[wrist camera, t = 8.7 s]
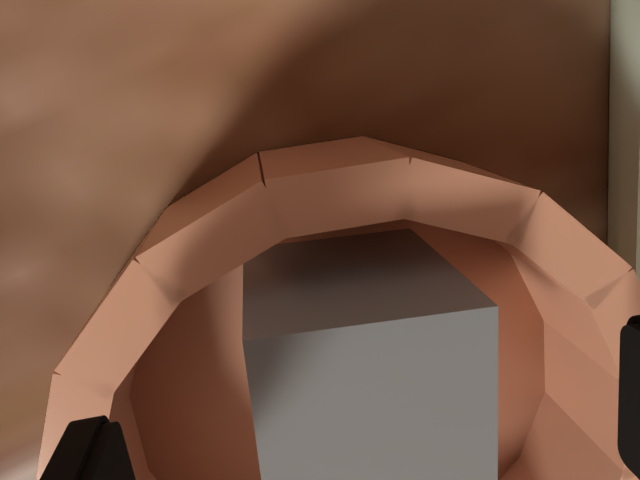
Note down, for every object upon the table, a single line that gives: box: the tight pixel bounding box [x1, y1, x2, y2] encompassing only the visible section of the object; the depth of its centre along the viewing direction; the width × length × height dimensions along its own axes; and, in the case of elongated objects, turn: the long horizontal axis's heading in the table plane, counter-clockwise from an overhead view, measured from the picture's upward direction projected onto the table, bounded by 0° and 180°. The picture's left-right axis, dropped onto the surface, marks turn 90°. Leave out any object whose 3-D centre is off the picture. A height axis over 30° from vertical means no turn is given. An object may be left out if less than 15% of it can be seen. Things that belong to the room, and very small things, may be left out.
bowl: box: [36, 136, 640, 480], centre depth 15 cm, size 14×14×4 cm
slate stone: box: [242, 228, 498, 480], centre depth 13 cm, size 4×4×6 cm
